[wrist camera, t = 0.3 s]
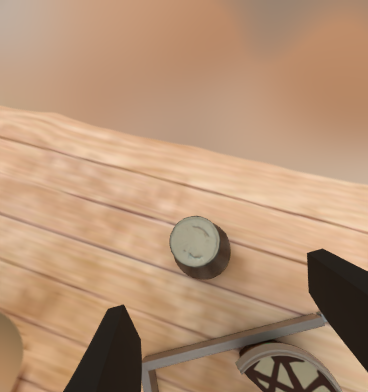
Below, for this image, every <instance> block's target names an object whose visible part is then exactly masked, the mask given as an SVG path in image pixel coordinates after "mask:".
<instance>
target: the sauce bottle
mask: <svg viewBox="0 0 368 392" xmlns="http://www.w3.org/2000/svg"><path fill="white" fill-rule="evenodd" d="M170 248H171V252H172V253H173V255H174V258H175V261H176V263H177V265H178V266H179V267H180V269H181V270H182V271H183V272H184V273H185V274H187V275H188V276H191V277H192V278H196V279H211V278H214V277H216V276H217V275H219V274H221V273H222V272H223V271H224V270H225V268H226V267H227V265H228V263H229V260H230V255H231V248H230V243H229V240H228V237H227V235H226V233H225V232H224V231H223V230H222V229H221V228H220V227H218V226H217V225H215V224H214V223H212V222H211V221H209V220H208V219H206V218H203V217H200V216H191V217H187V218H184V219H183V220H181V221H180V222H178V223H177V224H176V226H175V227H174V229H173V231H172V233H171V235H170Z"/></svg>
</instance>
